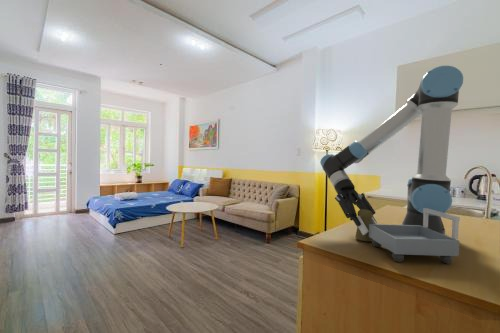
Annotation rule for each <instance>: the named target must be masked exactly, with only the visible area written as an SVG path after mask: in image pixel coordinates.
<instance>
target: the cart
mask: <svg viewBox="0 0 500 333" xmlns="http://www.w3.org/2000/svg"><path fill="white" fill-rule="evenodd" d="M429 213H430V214H433V215H436V216H440V217H441V218H442V219H443V218H444V219H447V220H450V221H451V222H452V223H451V224H452V225H451V236H448V235H446V234H445V235H444V234H441V233H438V232H436V231H433V230H431V229H428V228H426V227H428V214H429ZM459 226H460V216H457V215H454V214H449V213H446V212H445V213H443V212H439V211H435V210H432V209H428V208H423V226H420V225H402V224H384V223H383V224H382V223H381V224H379V223H377V224H369V237H370V238H372V239H373V241H371V242H372V245H373V246H374V247H375V248H376V247H377V248H380V247H384V248H385V249H387V250H388V251H390V252H391V253H392V254H391V257H392V260H394V261H396V262H398V263H400V262H403V261H404V259H405V255H407V256H408V255H409V256H410V255H411V256H437V257H439V260H440V261H441V262H442V263H443V264H450V263H452V262H453V257H459V256H460V240H459Z"/></svg>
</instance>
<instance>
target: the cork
mask: <svg viewBox="0 0 500 333" xmlns="http://www.w3.org/2000/svg"><path fill="white" fill-rule="evenodd" d="M357 216H360V218H361V219H362V221H363V223H364V224H365V226H366V227H367V229H368V231H369V224H371V219H372V217H374V215H373V213H372V212H371V211H370V210H366V209H361V210H360V209H359V210H358V211H357ZM355 239H356V240H359V241H363V242H372V241H373V239H372V238H370V237H369V232H368V233H367V234H365V235H363V234H362V233H361V231H360V229H359V228H358V226H356V232H355Z"/></svg>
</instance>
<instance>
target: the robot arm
mask: <svg viewBox="0 0 500 333" xmlns="http://www.w3.org/2000/svg"><path fill="white" fill-rule="evenodd" d="M463 84H464V75H463V72H462V71H461V70H460V69H458V68H457V67H455V66H453V65H440V66H436V67H433V68H431V69H430V70H429V71H428V72H426V74H424V75H423V77H422V78H421V79H420V84H419V86H418V88H417V90H416V91H415V92H414V93H413V95H412V96H411V97H409V98H408V99H407V100H406V103H405V105H402V107H400V108H399V109H398V110H397V111H396V112H394V113H392V115H390V116H388V118H386V119H385V121H383V122H382V123H381V124H379V125H378V126H376V128H374V129H373V130H372V131H370V133H368V134H367V135H365V136H364V137H363V138H362V139H360V140H354V141H353V142H352V143H349V145H348V146H346V147H345V148H343V149H341V150H340V151H339V152H338V153H336V154H333V153H328V154H325V155H324V156H322V157H321V159H320V162H319V163H320V165H321V167H322V170H323V171H324V173H325V174H326V176H327V178H328V180H329V182H330V183H331V185H332V187H333V188H334V190H335V192H336V196H335V197H334V199H335V200H336V202H337V203H338V205H339V207H340V208H341V211H342V212H343V214H344V215H345V218H347V219H349V220H350V221H353V222H354V224H355V226H356V227H357V226H358V228H359V229H360V231H361V233H362V234H363V235H365V234H367V233H368V232H369V231H368V229H367V227H366V226H365V224H364V223H363V221H362V219H361V218H360V216H358V213H357V211H356V207H357V208H358V209H359V210H361V209H366V210H370V211H371V212H372V213H373V217H372V219H371V224H378V221H377V220H376V219H375V217H374V215H375V214H376V211H375V209H374V208H373V207H372V204H370V202H369V200H368V199H367V198H366V195H365V193H364V192H362V193H358V191H356V188H355V187H356V186H355V184H354V183H353V182H352V180H351V178H350V176H349V175H348V174H347V172H346V171H345V170H346V169H347V168H348V167H351V166H352V165H353V164H359V163H360V162H362V161H363V159H365V158H366V157H368V156H369V155H370V154H372V153H373V152H374V151H375V150H376V149H378V148H379V147H380V146H382V145H383V144H384V143H386V142H387V141H389V140H390V139H391V138H393V137H394V136H395V135H397V133H399V132H401V131H402V130H403V129H404V128H406V127H407V126H408V125H410V124H411V123H412V122H414V121H415V120H416V119H418V118H419V117H421V123H420V136H419V137H420V138H419V147H418V161H417V170H416V174H414V175H412V177H411V178H410V179H408V181H407V185H406V186H407V199H406V200H407V201H406V202H407V203H406V214H405V216H404V218H403V221H402V223H401V225H420V226H423V208H428V209H432V210H435V211H439V212H443V213H446V212H448V211H449V210H450V209H451V207H452V205H453V197H452V194H451V183H452V180H451V179H450V178H449V177H448V176H447V166H448V165H447V164H448V156H449V145H450V133H451V123H452V121H451V120H452V111H453V109H455V108H456V107H457V106H458V105H459V94H460V90H461V88H462V86H463ZM355 206H356V207H355ZM426 228H428V229H431V230H433V231H436V232H438V233H441V234H444V235H446V229H445V226H444V222H443V220H442V217H440V216H436V215H433V214H430V213H429V214H428V227H426Z"/></svg>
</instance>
